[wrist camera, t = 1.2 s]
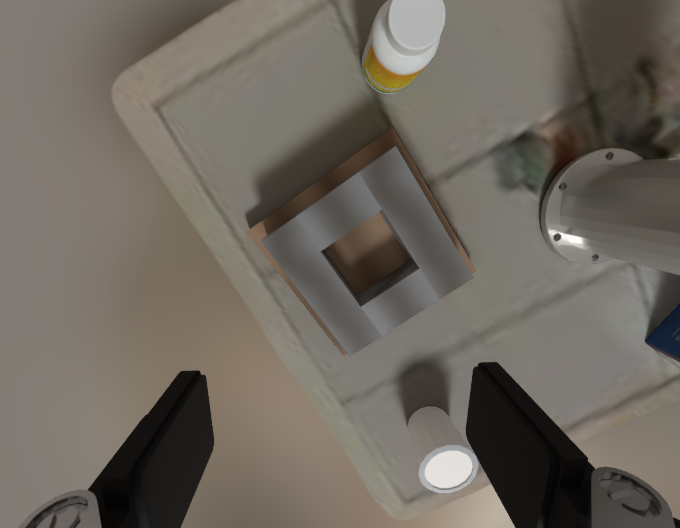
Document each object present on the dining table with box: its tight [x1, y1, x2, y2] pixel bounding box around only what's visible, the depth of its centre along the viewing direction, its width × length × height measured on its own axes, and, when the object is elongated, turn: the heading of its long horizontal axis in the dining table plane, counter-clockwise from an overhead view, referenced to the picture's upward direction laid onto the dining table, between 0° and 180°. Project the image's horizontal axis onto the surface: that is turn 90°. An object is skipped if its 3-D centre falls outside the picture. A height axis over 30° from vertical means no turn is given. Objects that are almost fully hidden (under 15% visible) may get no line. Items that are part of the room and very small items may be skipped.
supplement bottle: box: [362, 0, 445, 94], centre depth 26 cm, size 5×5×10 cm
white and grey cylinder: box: [408, 406, 478, 493], centre depth 38 cm, size 7×7×7 cm
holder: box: [247, 127, 476, 356], centre depth 33 cm, size 18×18×5 cm
